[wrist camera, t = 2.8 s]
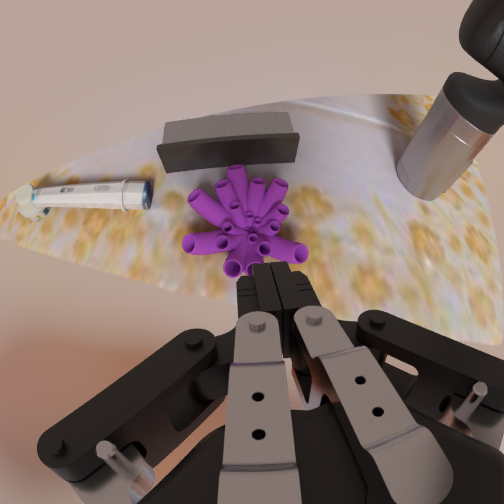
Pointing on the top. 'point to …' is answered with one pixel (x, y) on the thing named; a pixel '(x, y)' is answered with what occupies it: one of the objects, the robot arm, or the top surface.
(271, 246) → the purple tube coral
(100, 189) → the white handheld device
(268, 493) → the robot arm
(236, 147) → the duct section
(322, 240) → the top surface
